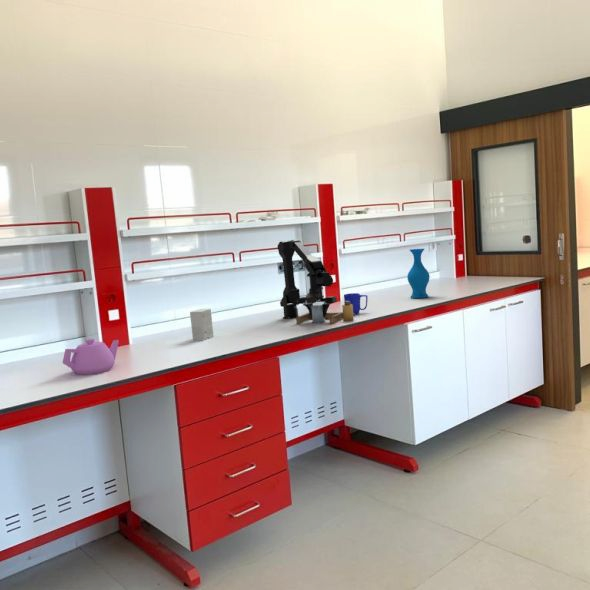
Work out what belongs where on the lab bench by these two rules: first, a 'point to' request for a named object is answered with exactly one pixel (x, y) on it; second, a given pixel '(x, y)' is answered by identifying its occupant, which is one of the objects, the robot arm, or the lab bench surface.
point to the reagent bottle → (347, 311)
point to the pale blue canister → (317, 314)
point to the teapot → (91, 357)
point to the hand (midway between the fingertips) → (318, 317)
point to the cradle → (332, 316)
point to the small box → (201, 324)
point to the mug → (355, 301)
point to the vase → (418, 276)
